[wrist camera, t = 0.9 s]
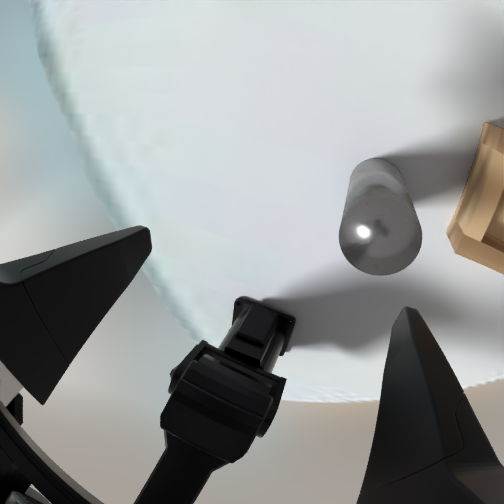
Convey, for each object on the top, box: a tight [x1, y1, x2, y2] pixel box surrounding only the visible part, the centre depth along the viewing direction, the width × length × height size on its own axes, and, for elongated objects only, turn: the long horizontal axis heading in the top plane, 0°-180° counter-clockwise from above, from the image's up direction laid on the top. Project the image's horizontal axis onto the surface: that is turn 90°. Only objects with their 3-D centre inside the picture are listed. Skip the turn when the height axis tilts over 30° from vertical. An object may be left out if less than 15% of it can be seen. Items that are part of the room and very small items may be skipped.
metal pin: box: [339, 158, 422, 275], centre depth 15 cm, size 4×4×8 cm
